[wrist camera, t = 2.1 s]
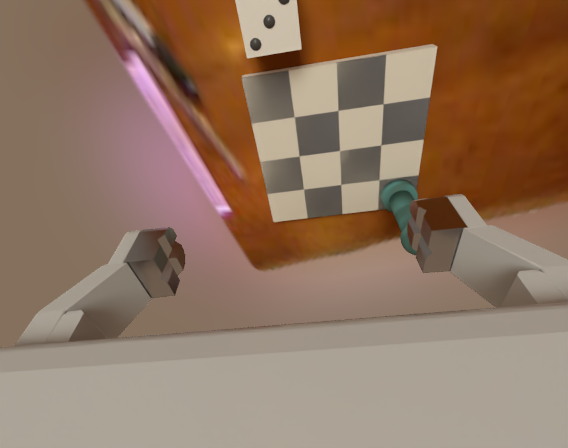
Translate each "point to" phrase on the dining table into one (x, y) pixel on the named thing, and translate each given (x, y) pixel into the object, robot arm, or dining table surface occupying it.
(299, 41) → the die
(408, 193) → the pawn
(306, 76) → the board
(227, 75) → the dining table surface
